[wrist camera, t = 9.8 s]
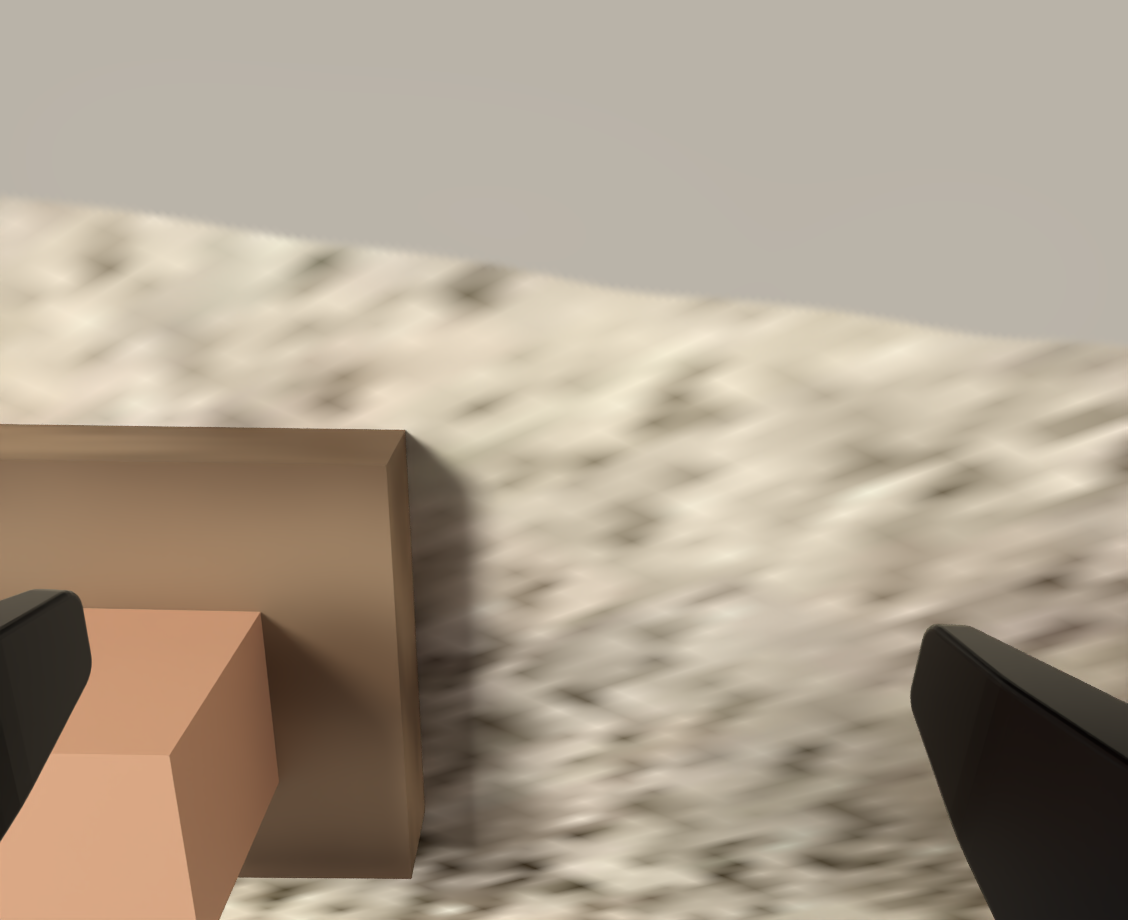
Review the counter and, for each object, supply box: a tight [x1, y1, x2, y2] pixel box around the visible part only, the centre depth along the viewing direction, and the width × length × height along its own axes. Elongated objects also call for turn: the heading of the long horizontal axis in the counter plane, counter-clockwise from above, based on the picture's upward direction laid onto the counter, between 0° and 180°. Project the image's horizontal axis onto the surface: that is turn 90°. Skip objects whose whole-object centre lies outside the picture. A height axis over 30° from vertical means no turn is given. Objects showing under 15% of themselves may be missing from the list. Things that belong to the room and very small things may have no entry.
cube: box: [0, 608, 279, 920], centre depth 18 cm, size 5×5×5 cm
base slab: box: [0, 424, 425, 879], centre depth 22 cm, size 12×12×3 cm
